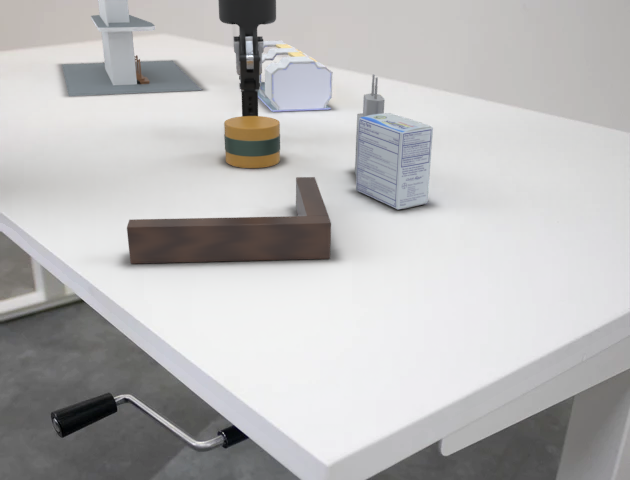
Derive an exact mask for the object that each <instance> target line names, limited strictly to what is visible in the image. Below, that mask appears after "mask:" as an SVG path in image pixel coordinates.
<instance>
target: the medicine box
mask: <svg viewBox="0 0 630 480" xmlns="http://www.w3.org/2000/svg"><path fill="white" fill-rule="evenodd" d="M433 133H434V127H433V126H432V125H429V124H426V123H423V122H420V121H417V120H414V119H411V118H408V117H405V116H401V115H398V114H395V113H391V112H384V113H382V114H374V115H368V116H364V117H360V118H359V127H358V155H357V176H356V186H355V187H356V188H355V189H356V192H359V193H361V194H363V195H366V196H368V197H370V198H372V199H374V200H376V201H378V202H381V203H383V204H385V205H387V206H389V207H392V208H394V209H396V210H405V209H410V208H413V207H418V206H421V205H426V204H427V203H428V202H429V186H430V176H431V163H432V162H431V161H432V148H433V147H432V146H433V135H434V134H433Z"/></svg>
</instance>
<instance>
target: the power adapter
mask: <svg viewBox="0 0 630 480" xmlns="http://www.w3.org/2000/svg"><path fill="white" fill-rule="evenodd" d="M371 77H372V80H371V81H372V82H371V92H369V93H366V94H363V101H362V102H363V103H362V112H361V113H357V114H356V135H355V158H354V159H355V160H354V175H355V176H356V177H357V155H358V127H359V118H360V117H364V116H368V115H374V114H382V113H385V101H386V99H385V98H384V97H383V96H382V95H381V94H379V93H378V87H379V86H378V80H379V77H377V76H376V75H375V74H372V76H371Z"/></svg>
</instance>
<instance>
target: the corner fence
mask: <svg viewBox="0 0 630 480" xmlns="http://www.w3.org/2000/svg"><path fill="white" fill-rule="evenodd" d="M295 211H296V215H292V216H291V215H290V216H288V215H287V216H246V217H245V216H243V217H241V216H239V217H194V218H193V217H191V218H150V219H149V218H141V219H137V218H136V219H129V220H128V223H127V226H126V234H127V241H128V242H127V244H128V253H129V262H130V264H131V265H132V264H168V263H170V264H172V263H210V262H211V263H212V262H249V261H251V262H252V261H253V262H254V261H289V260H290V261H292V260H295V261H296V260H327V259H328V260H329V259H331V244H332V243H331V242H332V241H331V239H332V237H331V236H332V222H331V219H330V217H329V213H328V210H327V208H326V205H325V202H324V199H323V197H322V194H321V191H320V187H319V185H318V182H317V180H316V177H315V176H301V177H300V176H299V177H295Z"/></svg>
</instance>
